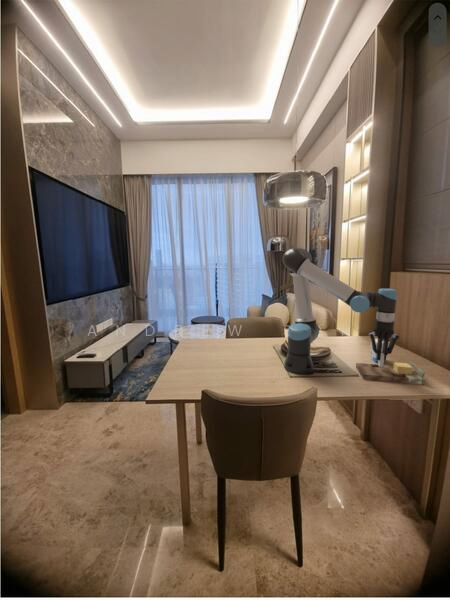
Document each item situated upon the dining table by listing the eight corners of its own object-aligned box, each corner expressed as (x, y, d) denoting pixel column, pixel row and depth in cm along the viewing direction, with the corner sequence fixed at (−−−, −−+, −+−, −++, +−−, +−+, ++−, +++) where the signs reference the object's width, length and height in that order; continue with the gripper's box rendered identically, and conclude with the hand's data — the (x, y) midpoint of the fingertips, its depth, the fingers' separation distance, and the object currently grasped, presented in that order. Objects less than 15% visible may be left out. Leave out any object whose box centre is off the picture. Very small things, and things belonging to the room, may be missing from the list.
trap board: (363, 379, 119) (364, 367, 118) (355, 367, 133) (356, 356, 132) (423, 384, 113) (424, 372, 112) (409, 371, 126) (410, 360, 126)
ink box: (384, 363, 137) (386, 343, 135) (374, 362, 138) (376, 342, 136) (378, 357, 145) (379, 338, 144) (369, 357, 146) (370, 338, 145)
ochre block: (397, 373, 119) (398, 366, 119) (393, 369, 124) (394, 362, 124) (411, 374, 118) (412, 367, 117) (407, 370, 123) (407, 363, 122)
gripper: (372, 321, 117) (368, 368, 121) (403, 323, 114) (398, 370, 118) (367, 318, 125) (363, 362, 128) (396, 319, 121) (392, 364, 125)
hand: (380, 366), depth 123 cm, fingers closed
